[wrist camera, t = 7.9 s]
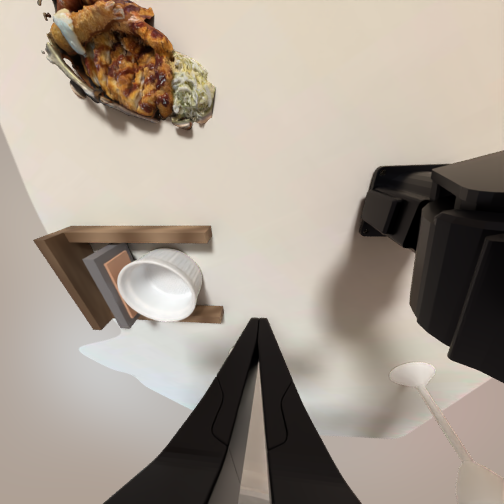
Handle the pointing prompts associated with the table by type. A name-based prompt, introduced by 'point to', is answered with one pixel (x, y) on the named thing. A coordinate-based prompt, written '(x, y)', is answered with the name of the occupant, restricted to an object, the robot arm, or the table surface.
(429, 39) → the table surface
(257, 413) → the jar
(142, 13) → the grilled meat platter
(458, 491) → the champagne flute
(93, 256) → the block
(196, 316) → the wooden u-shaped frame
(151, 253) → the ramekin
